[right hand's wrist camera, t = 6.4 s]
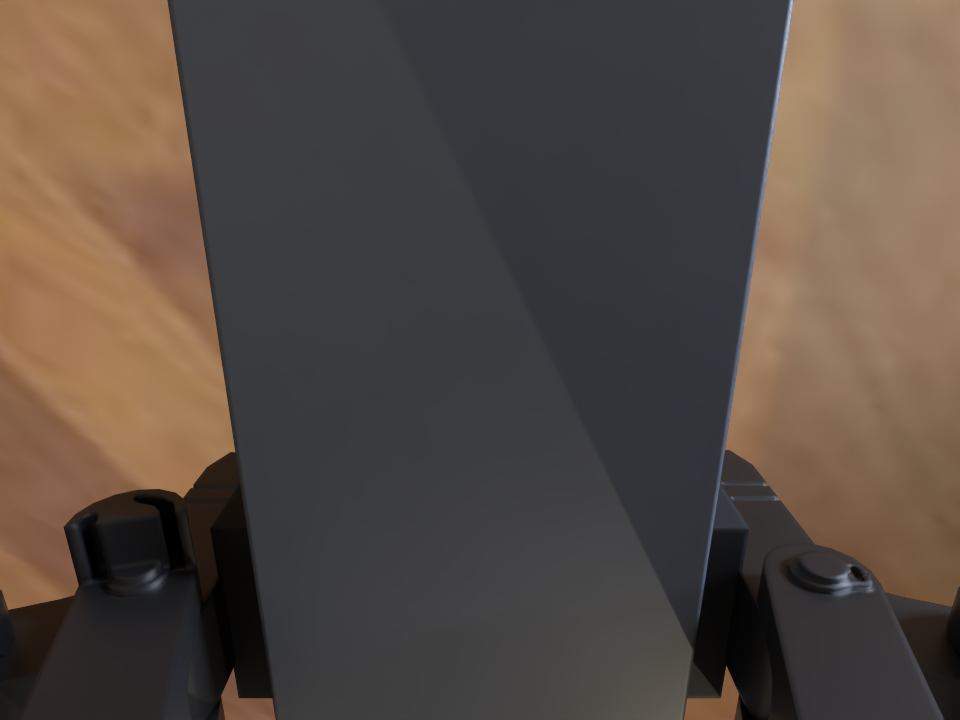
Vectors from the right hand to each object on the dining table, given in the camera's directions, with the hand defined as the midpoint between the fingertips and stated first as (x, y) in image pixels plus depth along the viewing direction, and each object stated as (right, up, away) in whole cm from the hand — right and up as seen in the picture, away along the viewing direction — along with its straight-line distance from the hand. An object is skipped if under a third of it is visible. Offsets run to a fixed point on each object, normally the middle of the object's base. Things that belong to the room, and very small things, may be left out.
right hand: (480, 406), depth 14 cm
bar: (0, +25, -9) cm, 26 cm away
